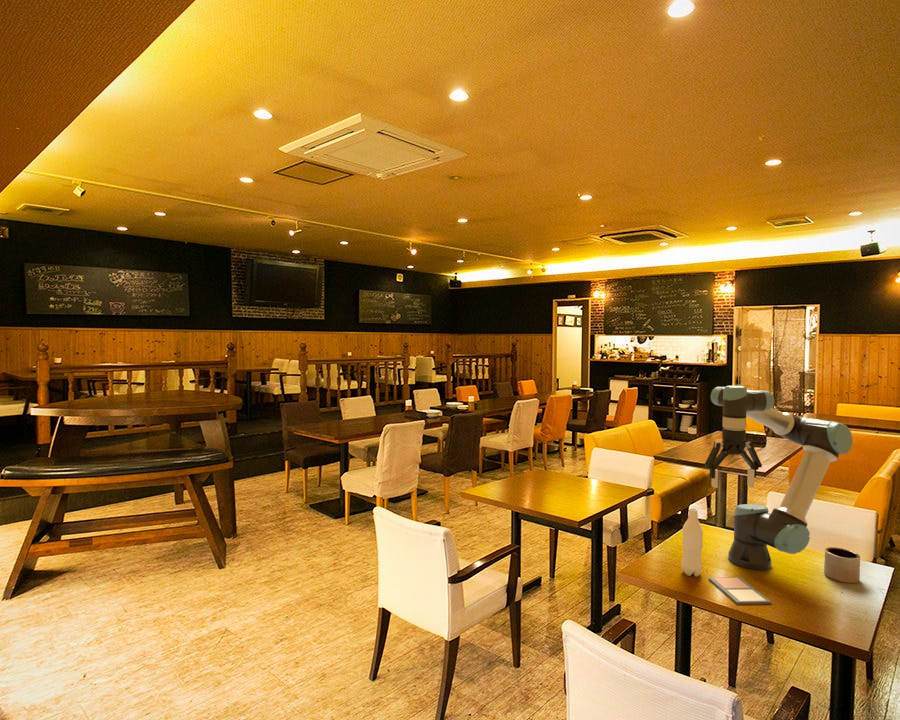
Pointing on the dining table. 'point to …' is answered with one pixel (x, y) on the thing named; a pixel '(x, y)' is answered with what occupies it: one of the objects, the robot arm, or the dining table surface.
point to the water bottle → (692, 544)
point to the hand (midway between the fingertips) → (732, 486)
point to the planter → (842, 565)
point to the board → (739, 591)
